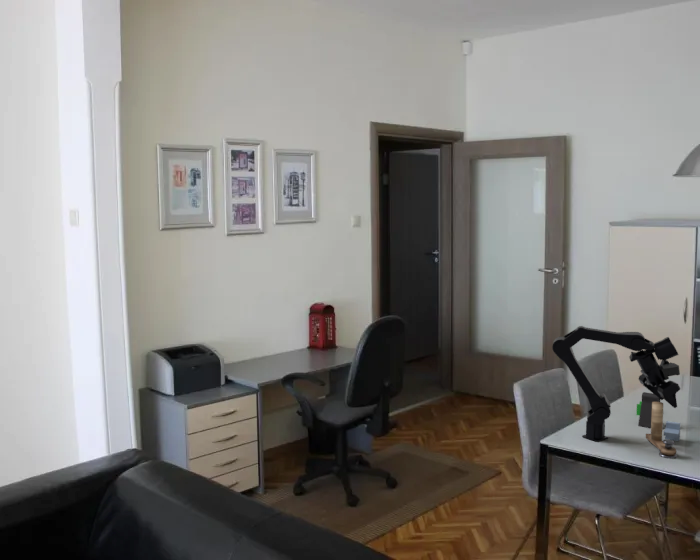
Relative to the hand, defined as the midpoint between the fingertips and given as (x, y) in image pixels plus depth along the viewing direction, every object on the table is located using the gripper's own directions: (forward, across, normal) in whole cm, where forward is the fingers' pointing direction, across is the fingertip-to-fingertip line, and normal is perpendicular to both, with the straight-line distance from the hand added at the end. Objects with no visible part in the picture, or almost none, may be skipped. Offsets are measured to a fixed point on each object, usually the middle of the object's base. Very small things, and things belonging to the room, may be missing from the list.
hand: (669, 403), depth 253 cm
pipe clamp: (+16, +32, +2) cm, 36 cm away
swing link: (+8, -8, +12) cm, 16 cm away
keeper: (+13, -1, +5) cm, 14 cm away
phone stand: (+14, +19, +5) cm, 24 cm away
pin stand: (+8, -14, +12) cm, 21 cm away
